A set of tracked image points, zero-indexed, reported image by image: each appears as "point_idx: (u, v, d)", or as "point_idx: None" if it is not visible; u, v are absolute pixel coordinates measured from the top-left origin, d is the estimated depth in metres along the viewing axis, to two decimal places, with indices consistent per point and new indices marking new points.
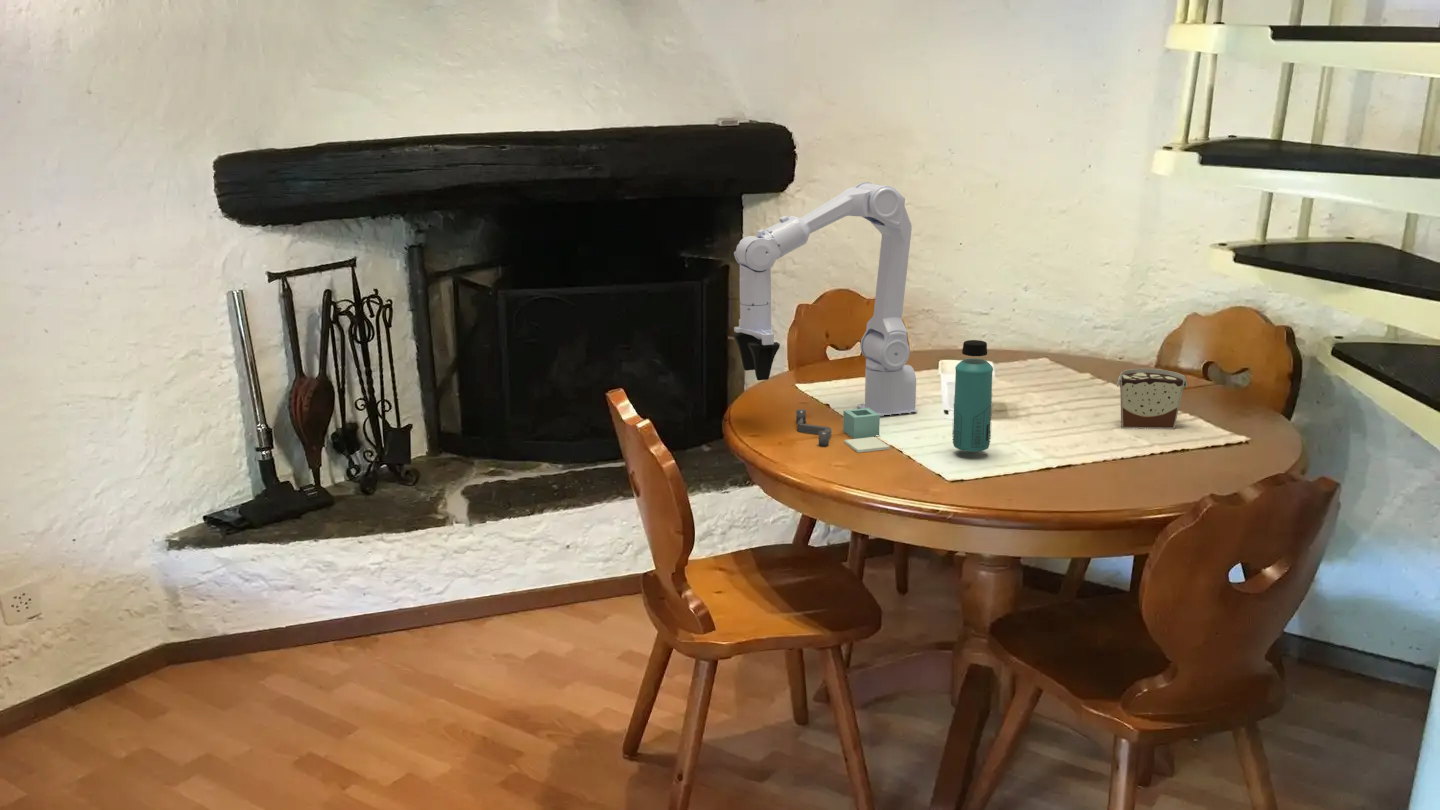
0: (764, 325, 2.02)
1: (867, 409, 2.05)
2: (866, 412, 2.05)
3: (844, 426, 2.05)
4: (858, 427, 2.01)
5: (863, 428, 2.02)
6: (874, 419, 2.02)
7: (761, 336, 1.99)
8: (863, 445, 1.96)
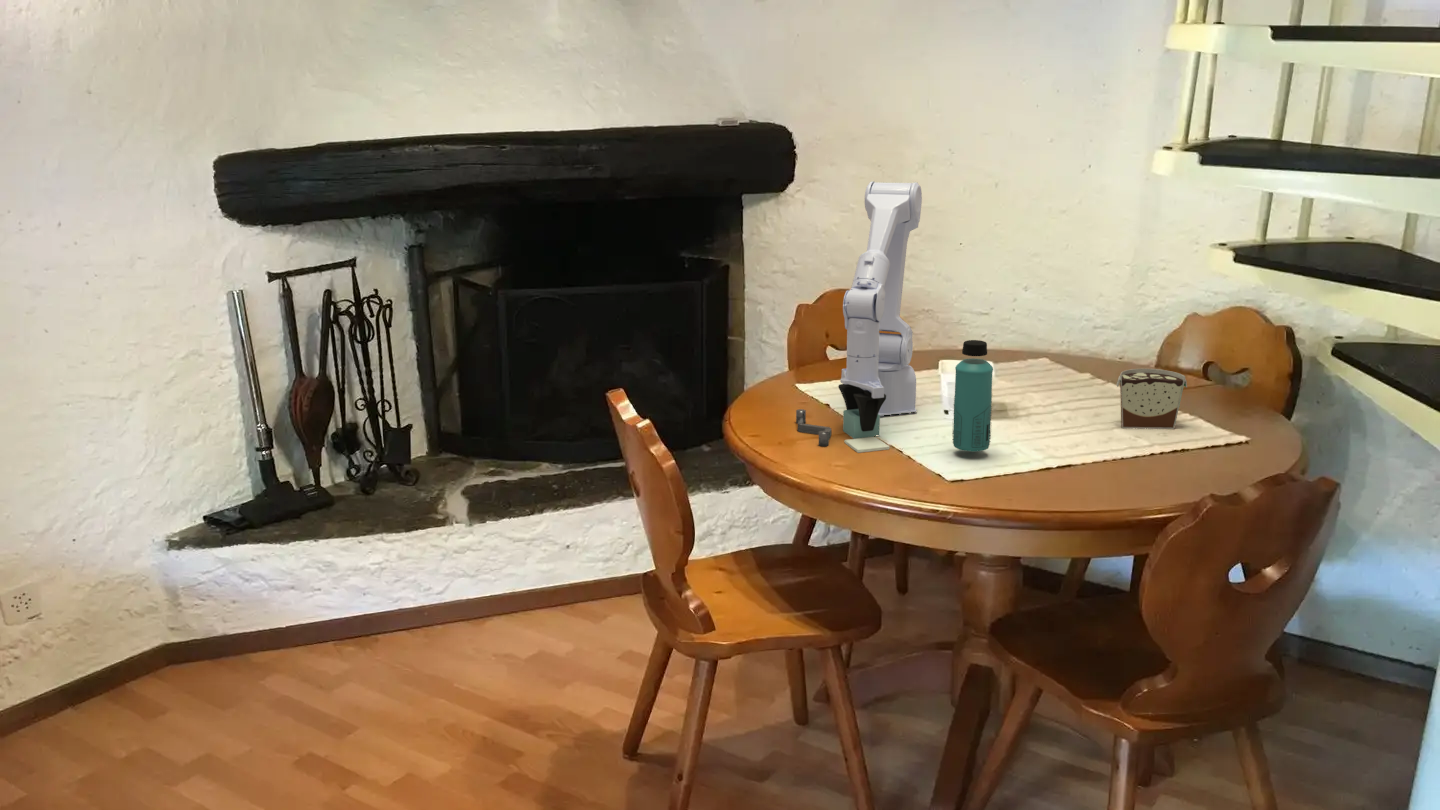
0: (872, 377, 1.99)
1: None
2: None
3: (844, 426, 2.05)
4: (858, 427, 2.01)
5: None
6: None
7: (871, 389, 1.95)
8: (863, 445, 1.96)
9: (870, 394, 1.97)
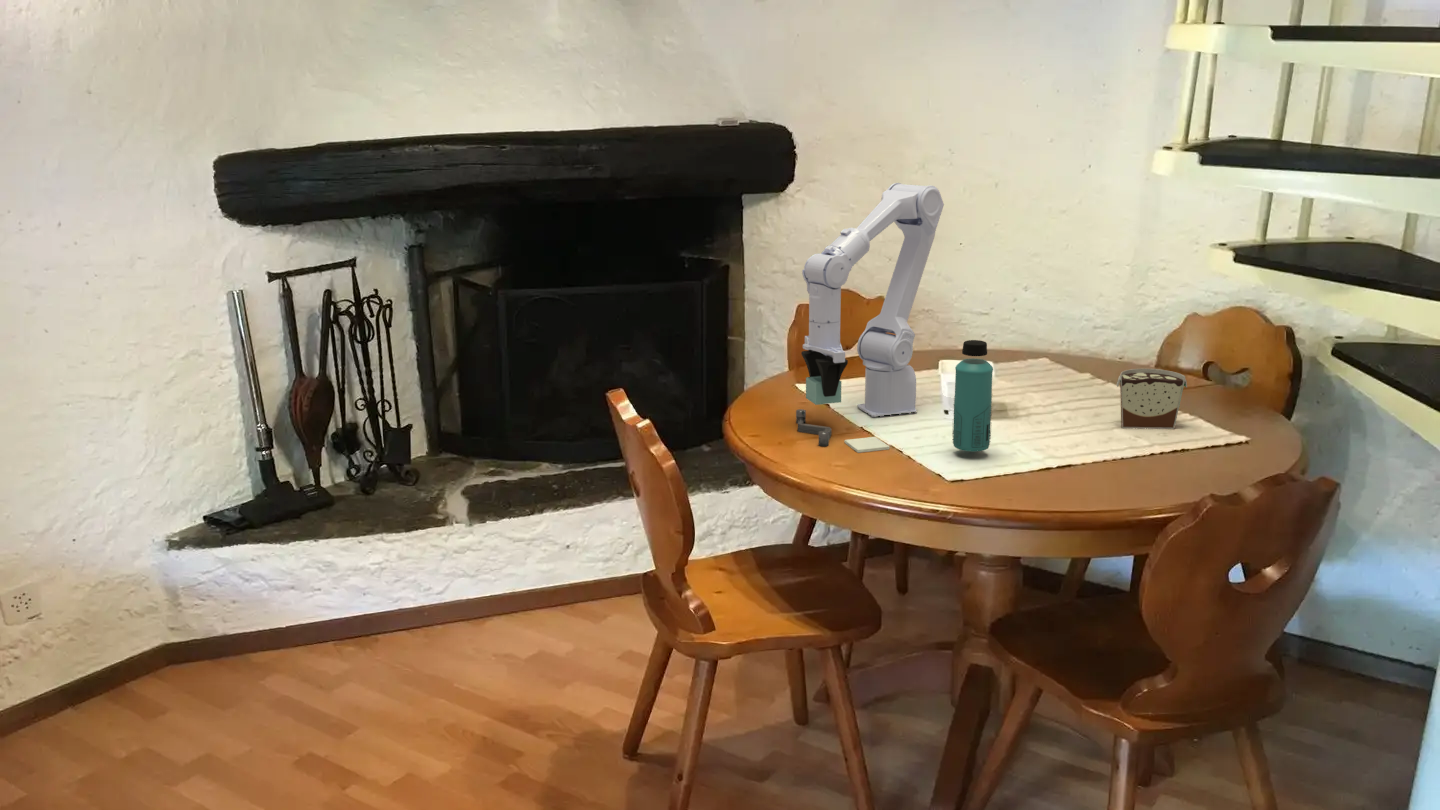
0: (833, 343, 2.02)
1: None
2: None
3: (806, 393, 2.08)
4: (820, 393, 2.04)
5: None
6: None
7: (832, 354, 1.98)
8: (863, 445, 1.96)
9: (832, 359, 2.00)
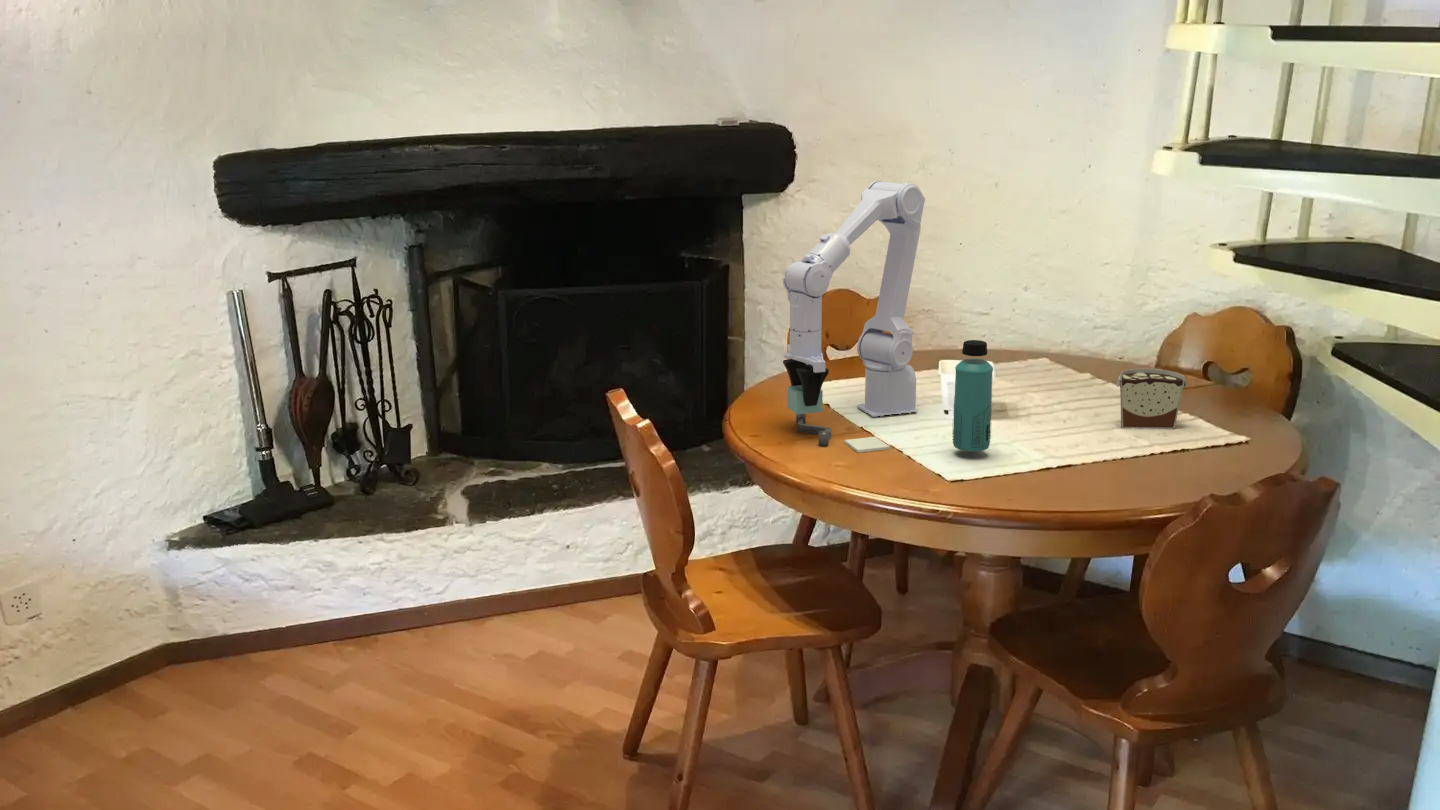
0: (814, 352, 1.99)
1: None
2: None
3: (788, 402, 2.06)
4: (801, 403, 2.01)
5: None
6: None
7: (812, 363, 1.96)
8: (863, 445, 1.96)
9: (812, 368, 1.97)
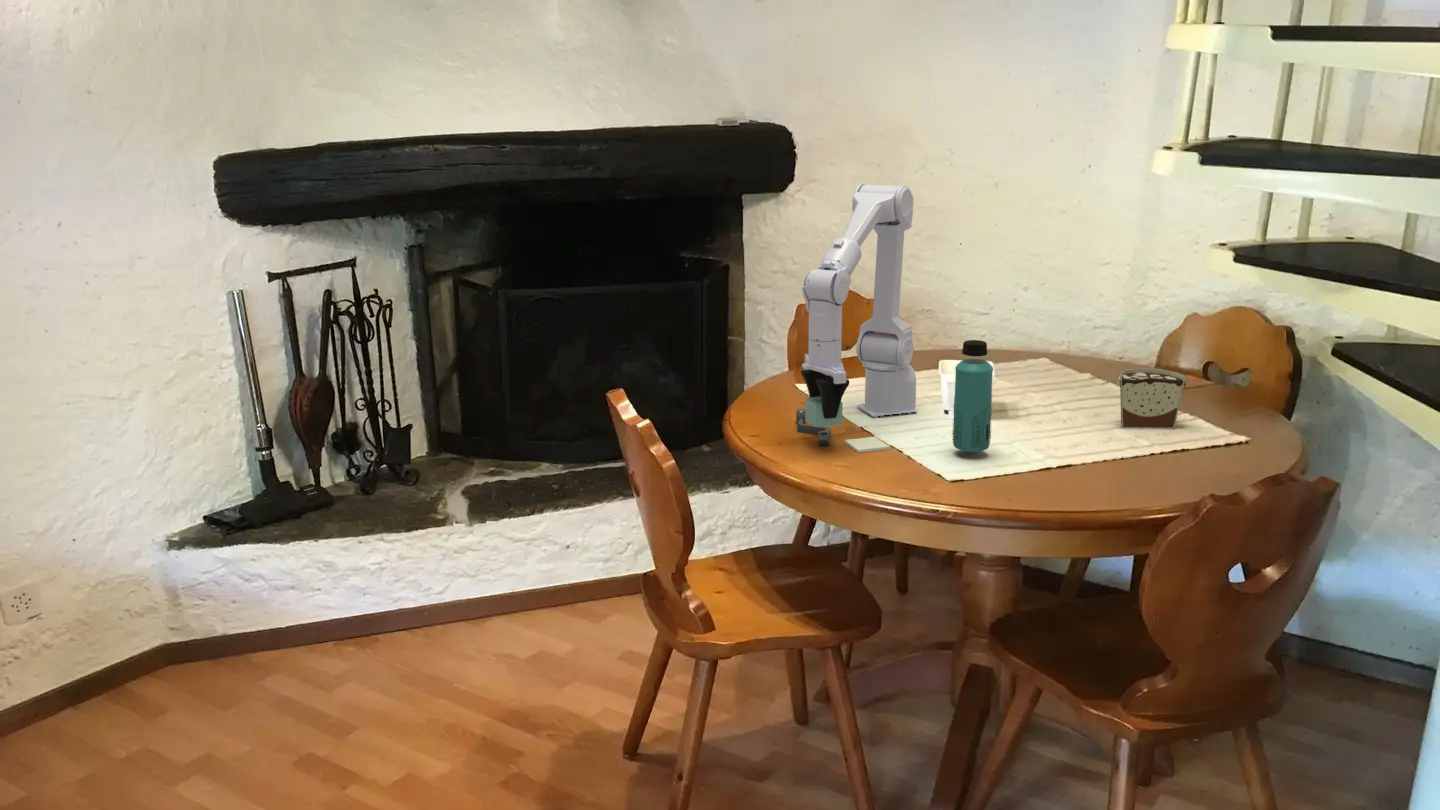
0: (834, 362, 1.92)
1: None
2: None
3: (806, 414, 1.98)
4: (820, 415, 1.94)
5: None
6: None
7: (833, 374, 1.88)
8: (863, 445, 1.96)
9: (832, 379, 1.90)
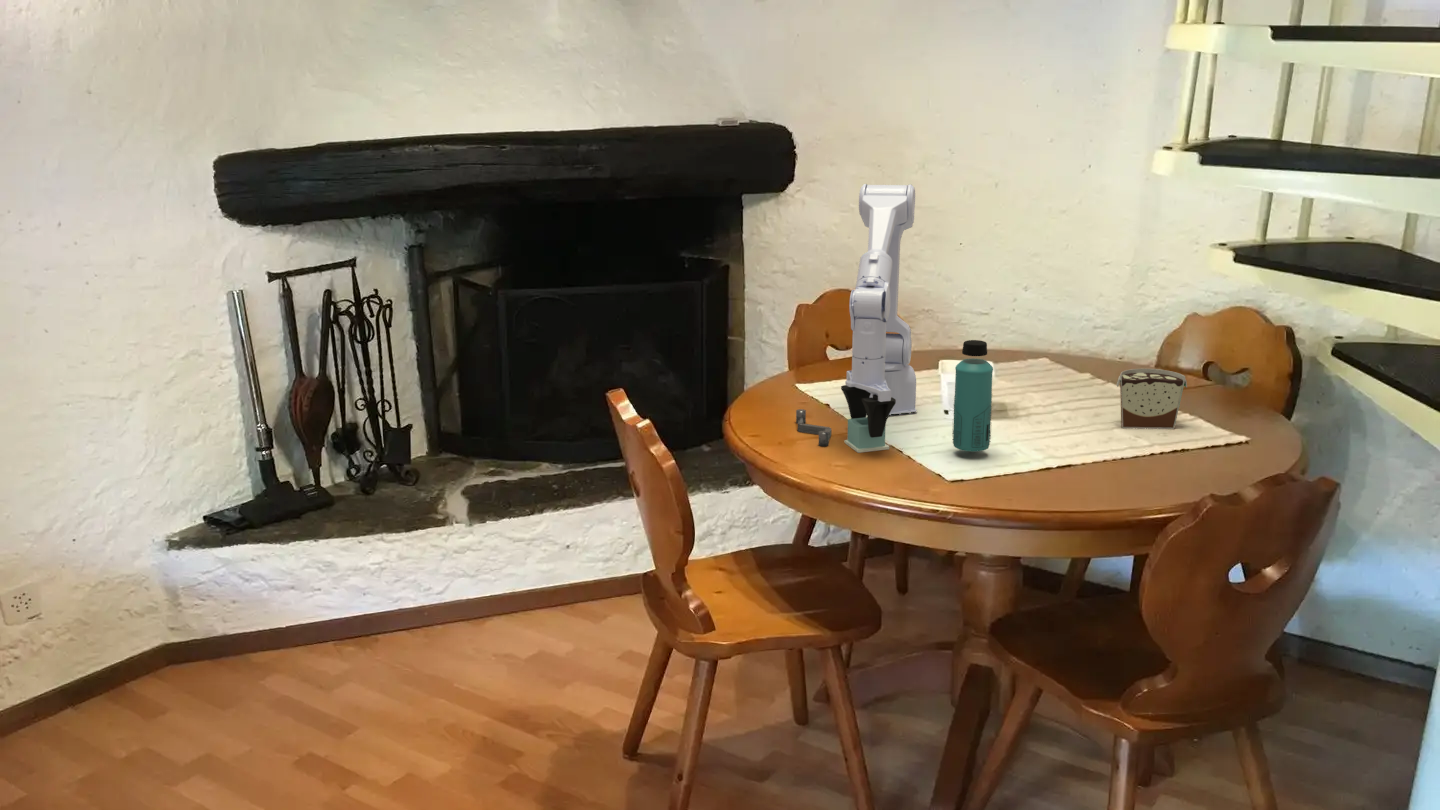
0: (878, 380, 1.92)
1: None
2: None
3: (848, 436, 1.98)
4: (863, 437, 1.94)
5: (868, 438, 1.94)
6: None
7: (878, 392, 1.88)
8: None
9: None
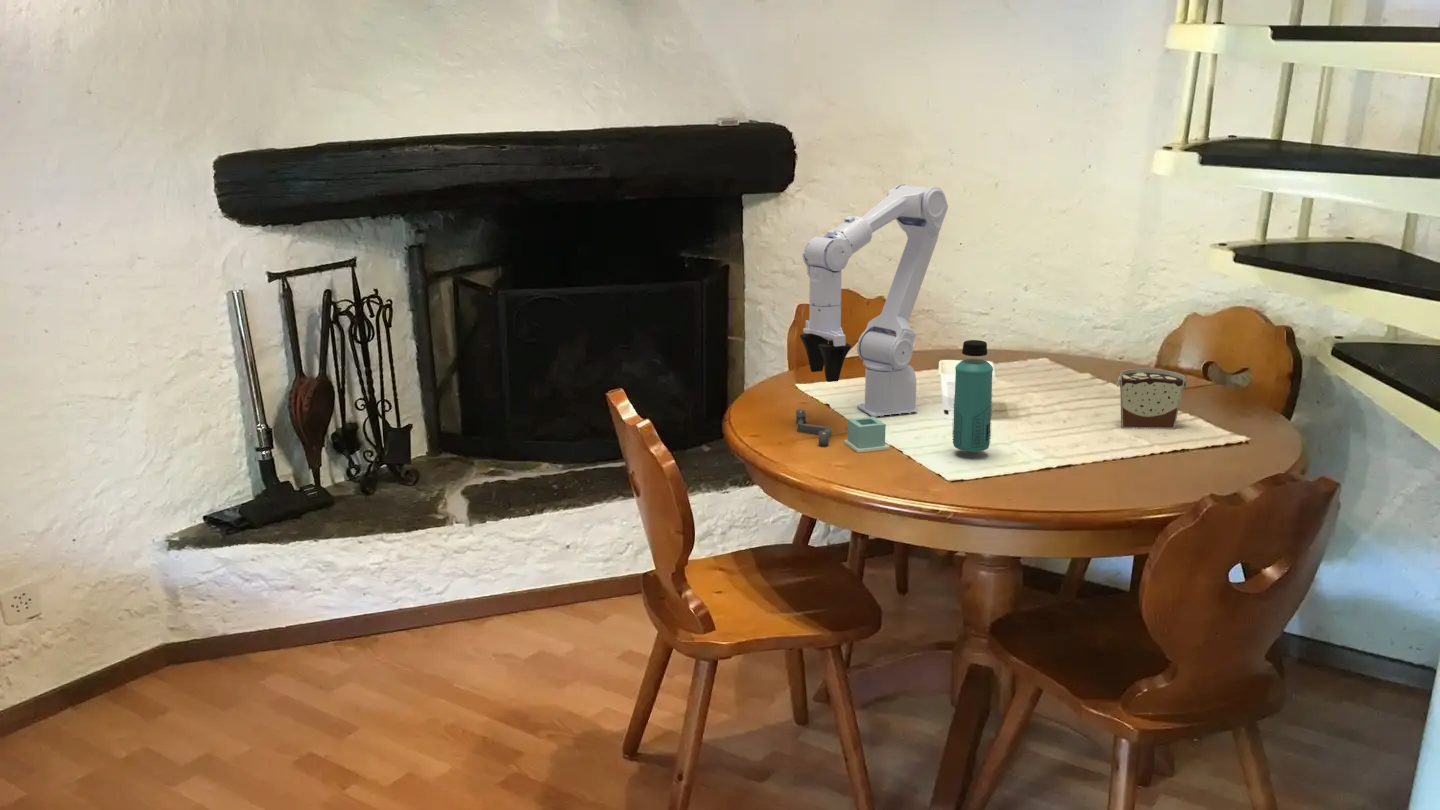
0: (834, 326, 2.01)
1: (872, 418, 1.98)
2: (871, 421, 1.98)
3: (848, 436, 1.98)
4: (863, 437, 1.94)
5: (868, 438, 1.94)
6: (880, 428, 1.95)
7: (833, 337, 1.97)
8: None
9: None
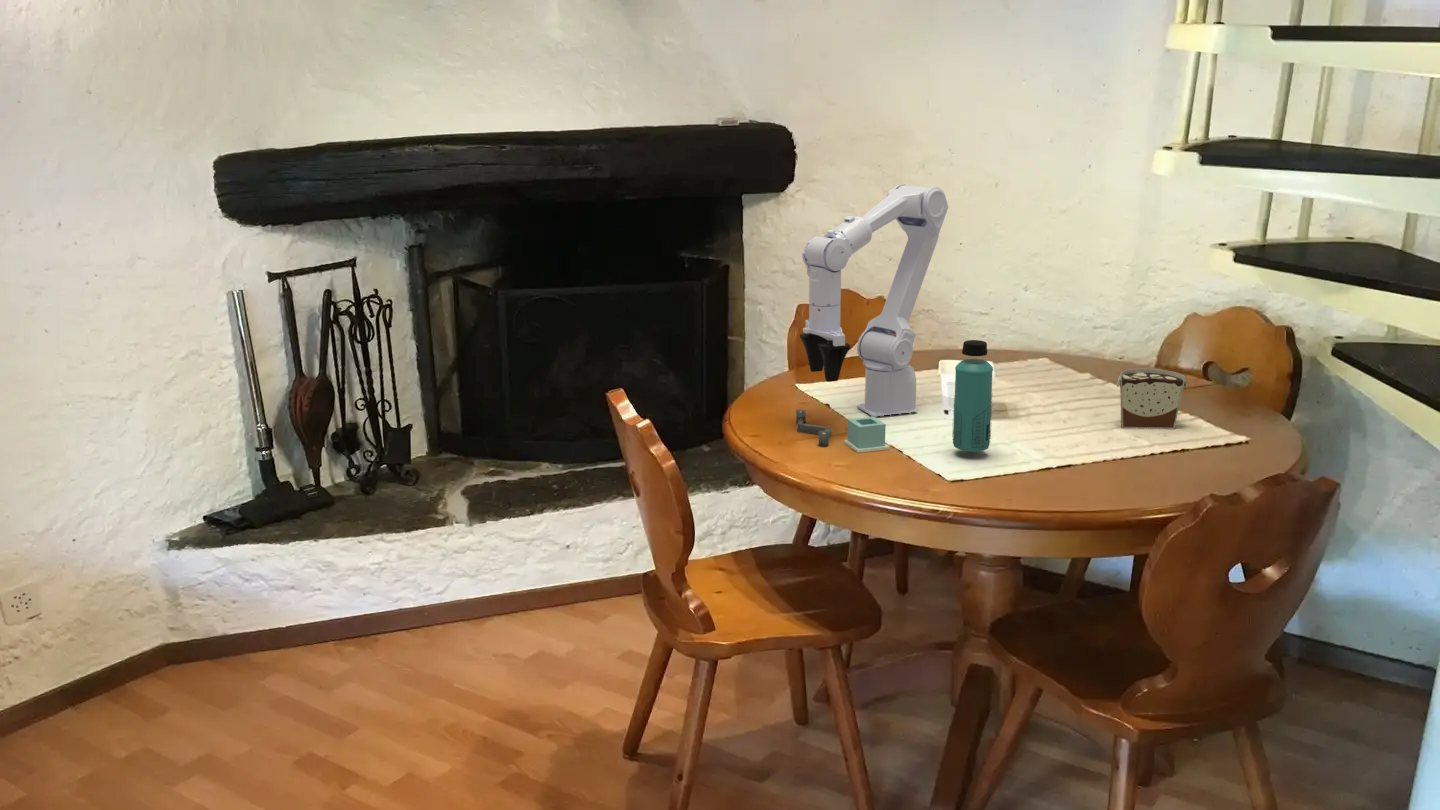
0: (833, 326, 2.01)
1: (872, 418, 1.98)
2: (871, 421, 1.98)
3: (848, 436, 1.98)
4: (863, 437, 1.94)
5: (868, 438, 1.94)
6: (880, 428, 1.95)
7: (832, 337, 1.97)
8: None
9: None
